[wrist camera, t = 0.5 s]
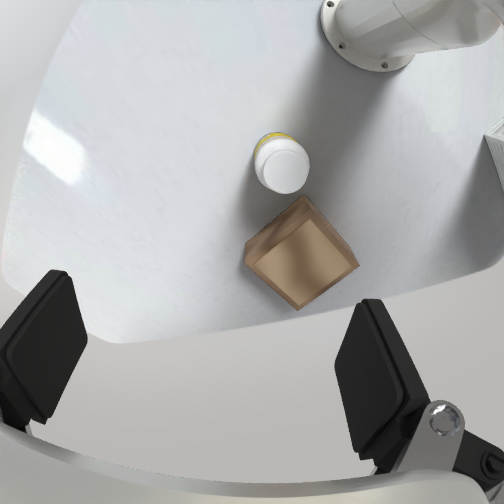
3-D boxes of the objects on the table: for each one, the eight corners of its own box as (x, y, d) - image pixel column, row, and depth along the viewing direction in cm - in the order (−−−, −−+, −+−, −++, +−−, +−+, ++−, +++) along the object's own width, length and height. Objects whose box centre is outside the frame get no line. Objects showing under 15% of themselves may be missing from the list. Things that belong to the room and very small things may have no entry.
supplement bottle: (299, 175, 36) (314, 202, 28) (254, 175, 37) (254, 202, 28) (300, 131, 34) (316, 144, 25) (253, 131, 34) (253, 143, 25)
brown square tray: (303, 194, 38) (310, 209, 33) (349, 246, 41) (360, 266, 36) (245, 243, 41) (244, 264, 36) (293, 289, 44) (297, 312, 40)
